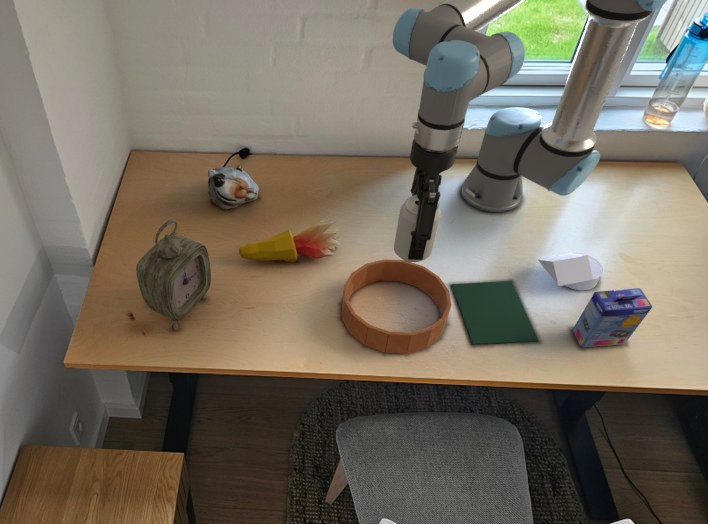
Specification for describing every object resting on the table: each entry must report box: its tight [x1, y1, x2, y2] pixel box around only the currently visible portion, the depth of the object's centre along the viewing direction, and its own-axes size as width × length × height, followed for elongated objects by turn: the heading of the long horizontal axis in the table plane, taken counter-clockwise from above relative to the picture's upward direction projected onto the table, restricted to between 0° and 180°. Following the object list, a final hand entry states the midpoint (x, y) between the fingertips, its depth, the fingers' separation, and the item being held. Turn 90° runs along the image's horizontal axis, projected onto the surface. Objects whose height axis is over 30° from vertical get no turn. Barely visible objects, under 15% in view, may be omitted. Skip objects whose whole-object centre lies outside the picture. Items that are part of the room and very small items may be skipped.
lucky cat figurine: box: [207, 164, 260, 211], centre depth 157 cm, size 15×12×14 cm
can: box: [393, 195, 442, 263], centre depth 115 cm, size 8×8×12 cm
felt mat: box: [450, 280, 539, 346], centre depth 133 cm, size 18×14×1 cm
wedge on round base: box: [537, 252, 604, 291], centre depth 137 cm, size 9×7×13 cm
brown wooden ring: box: [341, 258, 452, 355], centre depth 132 cm, size 23×23×6 cm
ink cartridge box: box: [572, 287, 653, 348], centre depth 122 cm, size 10×6×14 cm, turn 95°
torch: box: [238, 219, 342, 263], centre depth 144 cm, size 8×8×25 cm
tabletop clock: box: [135, 219, 212, 332], centre depth 127 cm, size 14×9×25 cm, turn 148°
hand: (413, 244), depth 118 cm, fingers closed on can, 7 cm apart
